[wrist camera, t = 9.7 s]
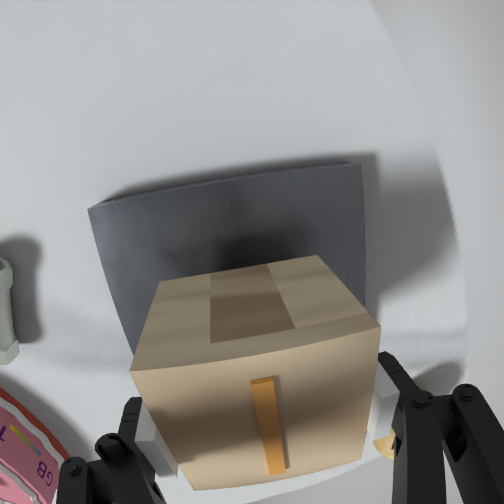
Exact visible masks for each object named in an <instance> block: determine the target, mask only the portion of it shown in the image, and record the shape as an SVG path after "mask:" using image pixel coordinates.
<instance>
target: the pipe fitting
mask: <svg viewBox="0 0 504 504" xmlns="http://www.w3.org/2000/svg"><path fill="white" fill-rule="evenodd" d="M12 285H13V269H12V267H11V265H10V263H9V262H8V261H7V260H6V259H5V258H2V257H0V365H7V364H10V363H11V362H12V361H13V360H14V359H15V358H16V356H17V355H18V354H19V352H20V351H19V344H18V339H17V337H16V335H15V334H14V329H13V320H12V310H11V298H10V287H11V286H12Z"/></svg>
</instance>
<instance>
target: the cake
mask: <svg viewBox="0 0 504 504" xmlns="http://www.w3.org/2000/svg"><path fill="white" fill-rule="evenodd" d="M68 458H70V457H69V455H68V454H67V452H66V451H65V449H64V448H63V447H62V445H61V444H60V443H59V442H58V440H57V439H56V438H55V437H54V436H53V435H52V434H51V433H50V432H49V431H48V429H47V428H46V427H45V426H44V425H43V424H42V423H41V422H40V421H38V420H37V419H36V418H35V417H34V416H33V415H32V414H31V413H30V412H29V411H28V410H27V409H25V408H24V407H23V406H22V405H21V404H20V403H19V402H17V401H16V400H15V399H14V398H13V397H11V396H10V395H9V394H8V393H6V392H5V391H4V390H3V389H1V388H0V503H1V504H52V501H53V498H54V494H55V491H56V489H58V481H59V473H60V468H61V465H62V463H63V462H64V461H65V460H66V459H68Z"/></svg>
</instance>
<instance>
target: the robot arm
mask: <svg viewBox="0 0 504 504" xmlns="http://www.w3.org/2000/svg"><path fill="white" fill-rule="evenodd" d="M391 427H392V429H393V431H394V432H395V438H394V441H393V444H392V447H391V450H393V449H394V472H393V493H392V504H447V503H446V483H445V482H446V481H445V468H444V457H443V450H444V453H445V455H446V458H447V460H448V462H449V465H450V468H451V471H452V473H453V476H454V478H455V481H456V484H457V486H458V489H459V492H460V495H461V497H462V500H463V503H464V504H504V430H503V428H502V427H501V425H500V423H499V422H498V420H497V418H496V416H495V415H494V413H493V412H492V410H491V408H490V407H489V405H488V403H487V402H486V400H485V399H484V397H483V395H482V394H481V392H480V391H479V389H478V388H477V387H475V386H473V385H471V384H461V385H459V386H457V387H456V388H455V389H454V390H453V393H452V394H450V395H443V396H433V395H432V394H431V393H430V392H427V391H424V390H420V389H419V388H418V387H417V385H416V384H415V383H414V381H413V380H412V379H411V378H410V376H409V375H408V374H407V372H406V371H405V370H404V368H403V367H402V366H401V365H400V364H399V362H398V361H397V360H396V358H395V357H394V356H393V355H391V354H389V353H387V352H386V351H384V352H381V353H378V361H377V369H376V377H375V384H374V389H373V396H372V402H371V409H370V414H369V420H368V426H367V430H368V432H369V434H370V436H371V438H372V440H373V441H374V440H377V439H380V438H383V437H385V436H388V435H389V434H390V431H391ZM95 451H96V452H97V454H98V455H99V456H100V458H101V459H100V460H96V461H92V462H86V461H85V460H84V459H82V458H81V457H70V458H68V459H66V460H65V461H64V462H63V463H62V465H61V468H60V473H59V481H58V489H57V499H56V504H116V503H117V504H166V501H165V499H164V497H163V495H162V493H161V491H160V489H159V487H158V485H157V483H156V482H155V481H154V480H155V472H156V474H157V475H158V476H159V478H177V473H178V464H177V462H176V460H175V459H174V457H173V455H172V453H171V452H170V450H169V448H168V447H167V445H166V443H165V441H164V439H163V438H162V436H161V434H160V432H159V430H158V428H157V427H156V425H155V423H154V421H153V420H152V418H151V416H150V414H149V412H148V410H147V408H146V406H145V404H144V402H143V400H142V398H141V397H131V398H130V399H129V401H128V402H127V403H126V405H125V407H124V411H123V416H122V418H121V422H120V426H119V430H118V433H109V434H105V435H103V436H101V437H100V438H99V439H98V440H97V442H96V444H95Z"/></svg>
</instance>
